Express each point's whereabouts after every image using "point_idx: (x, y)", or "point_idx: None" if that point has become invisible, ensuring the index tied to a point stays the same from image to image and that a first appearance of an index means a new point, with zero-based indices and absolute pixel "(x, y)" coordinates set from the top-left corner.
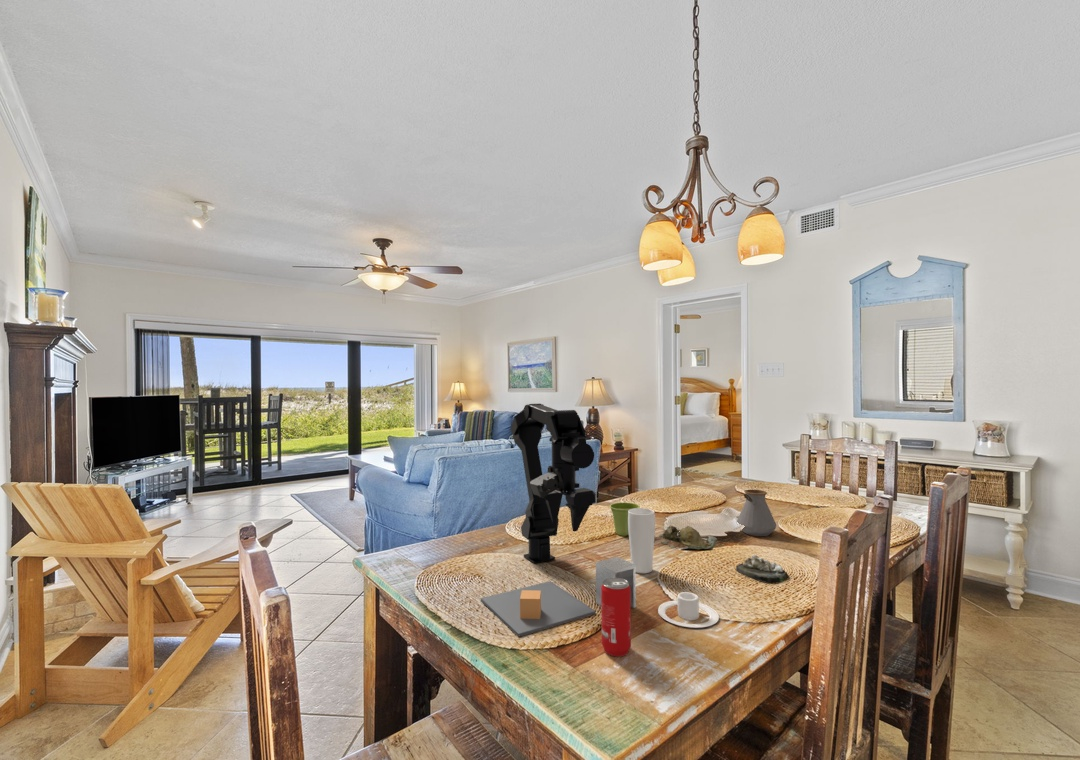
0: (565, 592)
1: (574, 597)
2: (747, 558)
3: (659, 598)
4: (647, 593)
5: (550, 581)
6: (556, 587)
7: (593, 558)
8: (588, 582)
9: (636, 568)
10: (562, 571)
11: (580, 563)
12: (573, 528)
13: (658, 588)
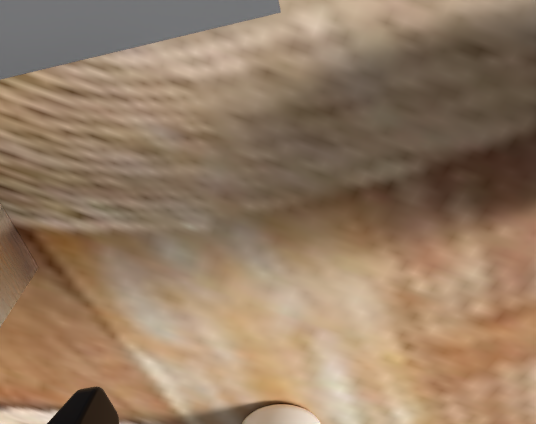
0: (86, 45)
1: (8, 71)
2: None
3: (14, 381)
4: (63, 366)
5: (274, 8)
6: (169, 14)
7: (500, 331)
8: (229, 213)
9: (258, 421)
10: (425, 141)
11: (478, 261)
12: (50, 422)
13: None
